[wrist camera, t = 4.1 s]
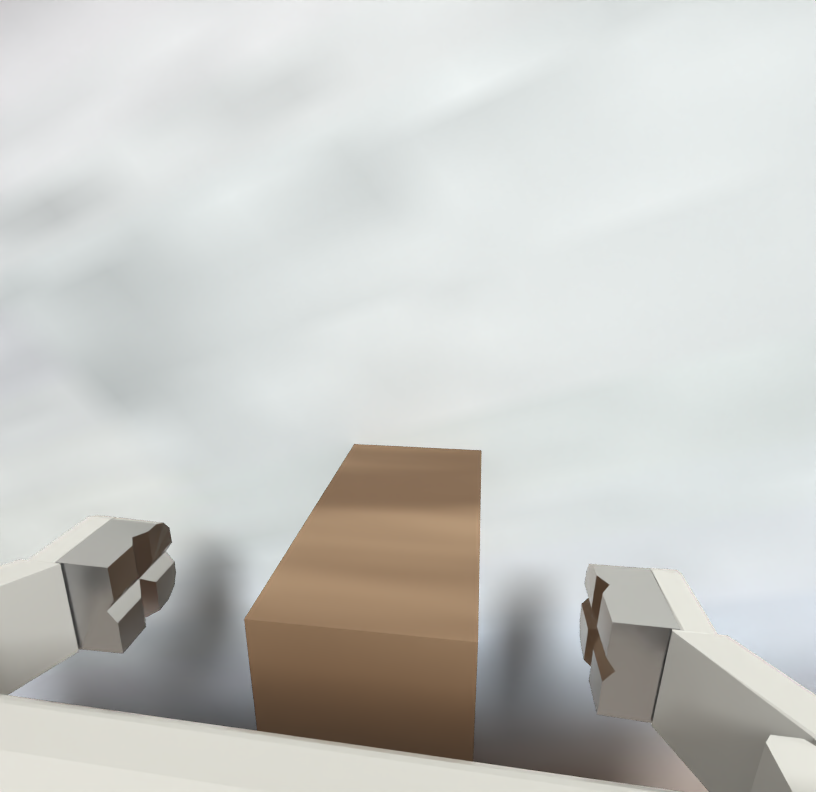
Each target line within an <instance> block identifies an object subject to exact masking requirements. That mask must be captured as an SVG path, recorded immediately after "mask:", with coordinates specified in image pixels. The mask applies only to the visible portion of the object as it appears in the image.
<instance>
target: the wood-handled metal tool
mask: <svg viewBox="0 0 816 792" xmlns="http://www.w3.org/2000/svg"><path fill="white" fill-rule="evenodd" d="M480 499H481V450H461V449H441V448H421V447H401V446H381V445H361V444H354V445H353V447H352V449H351V450H350V452H349V453H348V455H347V457H346V458H345V460H344V461H343V463H342V464H341V466H340V468H339V469H338V471H337V472H336V474H335V476H334V477H333V479H332V480H331V482H330V484H329V485H328V487H327V488H326V490H325V492H324V493H323V495H322V496H321V498H320V499H319V501H318V503H317V504H316V506H315V507H314V509H313V511H312V512H311V514H310V515H309V517H308V519H307V520H306V522H305V523H304V525H303V527H302V528H301V530H300V531H299V533H298V534H297V536H296V538H295V539H294V541H293V542H292V544H291V546H290V547H289V549H288V550H287V552H286V554H285V555H284V557H283V558H282V560H281V561H280V563H279V565H278V566H277V568H276V569H275V571H274V573H273V574H272V576H271V577H270V579H269V581H268V582H267V584H266V585H265V587H264V589H263V590H262V592H261V593H260V595H259V596H258V598H257V600H256V601H255V603H254V604H253V606H252V608H251V609H250V611H249V612H248V614H247V616H246V617H245V619H244V621H245V630H246V638H247V647H248V656H249V664H250V673H251V681H252V690H253V699H254V707H255V716H256V725H257V731H262V732H269V733H277V734H284V735H291V736H298V737H305V738H312V739H319V740H326V741H333V742H340V743H347V744H354V745H361V746H368V747H375V748H382V749H389V750H396V751H403V752H410V753H417V754H423V755H430V756H437V757H444V758H451V759H458V760H465V761H472V762H473V748H474V724H475V700H476V676H477V652H478V610H479V555H480Z"/></svg>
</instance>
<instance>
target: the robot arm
mask: <svg viewBox="0 0 816 792" xmlns="http://www.w3.org/2000/svg"><path fill="white" fill-rule="evenodd" d="M171 543H172V540H171V534H170V529H169V527H168V526H167V525H166V524H164V523H162V522H153V521H145V520H136V519H128V518H116V517H111V516H99V515H95V516H88V517H86V518H85V519H84V520H82V521H81V522H79V523H78V524H77V525H75V526H74V527H72V528H71V529H70V530H68V531H67V532H65V533H64V534H63V535H61V536H60V537H58V538H57V539H56V540H54V541H53V542H51V543H50V544H49V545H47V546H46V547H44V548H43V549H42V550H40V551H39V552H37V553H36V554H35V555H33V556H32V557H30V558H29V559H28V560H23V559H19V560H16V561H13V562H10V563H7V564H4V565H1V566H0V792H683V791H676V790H669V789H662V788H655V787H648V786H641V785H633V784H626V783H619V782H612V781H604V780H597V779H590V778H583V777H576V776H569V775H562V774H555V773H548V772H541V771H534V770H527V769H520V768H513V767H507V766H500V765H493V764H486V763H479V762H472V761H465V760H458V759H451V758H444V757H437V756H430V755H423V754H417V753H410V752H403V751H396V750H389V749H382V748H375V747H368V746H361V745H354V744H347V743H340V742H333V741H326V740H319V739H312V738H305V737H298V736H291V735H284V734H277V733H269V732H262V731H255V730H248V729H241V728H234V727H227V726H220V725H213V724H206V723H199V722H192V721H185V720H178V719H170V718H163V717H156V716H149V715H142V714H135V713H129V712H122V711H115V710H108V709H101V708H94V707H87V706H80V705H73V704H66V703H59V702H52V701H45V700H38V699H31V698H24V697H17V696H10V695H8V694H10V693H12V692H13V691H15V690H17V689H18V688H20V687H22V686H23V685H25V684H27V683H28V682H30V681H31V680H33V679H35V678H36V677H38V676H40V675H41V674H43V673H45V672H46V671H48V670H49V669H51V668H53V667H54V666H56V665H58V664H59V663H61V662H63V661H64V660H66V659H68V658H69V657H71V656H72V655H74V654H76V653H77V652H79V649H83V650H93V651H104V652H114V653H124V652H125V650H126V649H127V648H128V647H129V646H130V645H131V643H132V642H133V641H134V640H135V639H136V638H137V636H138V635H139V634H140V633H141V632H142V631H143V629H144V628H145V627H146V623H145V617H147V616H149V615H151V614H153V613H155V612H157V611H159V610H160V609H161V608H162V607H163V606H164V604H165V603H166V602H167V601H168V599H169V597H170V595H171V592H172V590H173V587H174V585H175V576H176V569H175V562H174V560H173V559H172V558H171V557H170V555H169V554H168V553H167V552H166V550H167V549H168V547H169V546H170V544H171ZM585 587H586V590H587V594H588V597H589V598H588V599H587V600H585V601H584V602H583V603H582V604H581V613H580V643H581V649H582V654H583V658H584V660H585V661H586V662H587V663H588V664H589V665H590V666H591V669H590V675H589V684H590V688H591V692H592V696H593V700H594V704H595V708H596V712H597V714H598V715H604V716H611V717H617V718H624V719H630V720H636V721H643V722H649V723H652V726H653V728H654V729H655V730H656V731H657V732H658V733H659V735H660V736H661V737H662V738H663V739H664V740H665V741H666V743H667V744H668V745H669V746H670V747H671V748H672V750H673V751H674V752H675V753H676V754H677V755H678V756H679V758H680V759H681V760H682V761H683V762H684V763H685V765H686V766H687V767H688V768H689V769H690V770H691V771H692V773H693V774H694V775H695V776H696V777H697V778H698V779H699V781H700V782H701V783H702V784H703V785H704V786H705V788H706V789H707V790H708V791H709V792H816V695H815V694H813V693H812V692H810V691H809V690H807V689H806V688H804V687H803V686H802V685H800V684H799V683H797V682H796V681H794V680H793V679H791V678H790V677H788V676H787V675H785V674H784V673H782V672H781V671H779V670H778V669H776V668H775V667H773V666H772V665H770V664H769V663H767V662H766V661H765V660H763V659H762V658H760V657H759V656H757V655H756V654H754V653H753V652H751V651H750V650H748V649H747V648H745V647H744V646H742V645H741V644H739V643H738V642H736V641H735V640H733V639H732V638H730V637H729V636H728V635H719V634H717V632H716V630H715V629H714V627H713V625H712V624H711V622H710V620H709V619H708V617H707V615H706V614H705V612H704V610H703V609H702V607H701V605H700V604H699V602H698V600H697V599H696V597H695V595H694V594H693V592H692V590H691V589H690V587H689V585H688V584H687V582H686V580H685V579H684V577H683V575H682V574H681V572H679V571H677V570H674V569H658V568H637V567H624V566H610V565H597V564H589V565H588V568H587V571H586V577H585Z"/></svg>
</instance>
